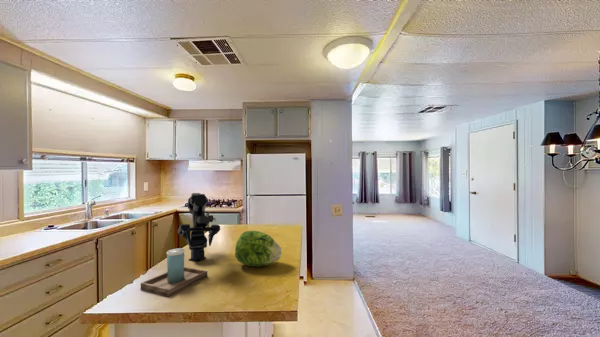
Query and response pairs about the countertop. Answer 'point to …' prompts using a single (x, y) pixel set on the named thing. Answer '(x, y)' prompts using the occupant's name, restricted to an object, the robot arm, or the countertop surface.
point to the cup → (175, 265)
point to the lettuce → (257, 249)
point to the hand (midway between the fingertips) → (200, 246)
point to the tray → (168, 289)
